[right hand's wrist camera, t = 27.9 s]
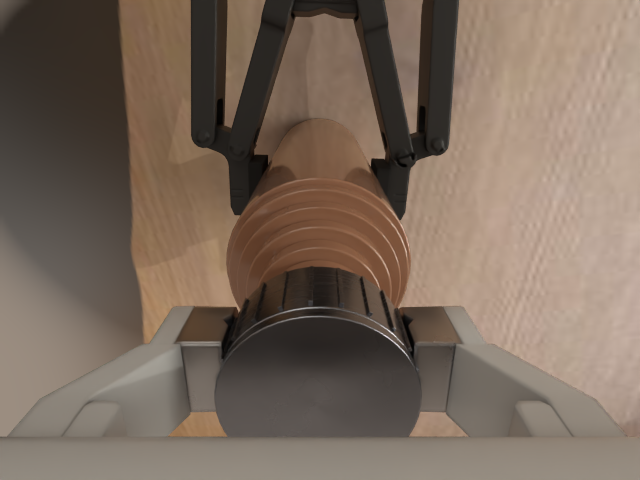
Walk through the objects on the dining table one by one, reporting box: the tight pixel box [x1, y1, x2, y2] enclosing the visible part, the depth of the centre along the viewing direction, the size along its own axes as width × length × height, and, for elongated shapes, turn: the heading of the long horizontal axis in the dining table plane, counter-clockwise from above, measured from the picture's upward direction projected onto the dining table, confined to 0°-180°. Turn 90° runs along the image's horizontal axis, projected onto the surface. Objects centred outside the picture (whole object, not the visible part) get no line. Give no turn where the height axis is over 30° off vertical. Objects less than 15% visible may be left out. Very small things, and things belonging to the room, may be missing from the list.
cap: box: [214, 266, 422, 437], centre depth 9 cm, size 4×4×2 cm
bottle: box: [226, 119, 411, 310], centre depth 19 cm, size 6×6×23 cm
